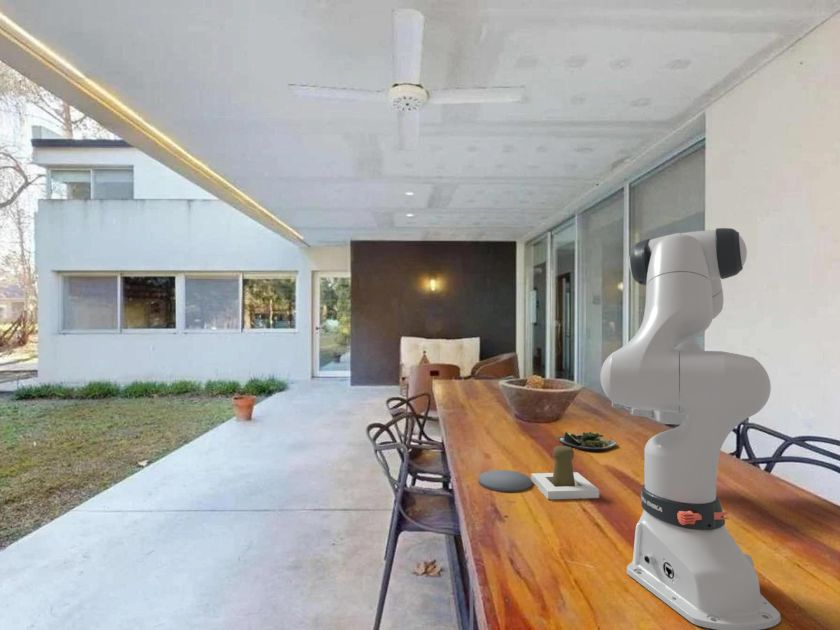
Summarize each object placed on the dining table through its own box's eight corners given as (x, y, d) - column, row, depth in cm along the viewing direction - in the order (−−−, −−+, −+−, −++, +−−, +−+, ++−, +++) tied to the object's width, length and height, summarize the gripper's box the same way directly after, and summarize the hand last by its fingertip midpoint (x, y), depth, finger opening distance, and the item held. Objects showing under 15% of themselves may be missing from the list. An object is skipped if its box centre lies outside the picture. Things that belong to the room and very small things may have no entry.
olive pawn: (577, 494, 117) (577, 450, 117) (552, 492, 119) (552, 449, 119) (574, 485, 123) (574, 444, 123) (550, 484, 124) (550, 443, 125)
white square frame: (599, 497, 115) (599, 489, 115) (547, 499, 114) (547, 491, 114) (577, 479, 128) (577, 472, 128) (531, 480, 127) (531, 473, 127)
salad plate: (583, 435, 177) (583, 423, 177) (627, 445, 162) (627, 432, 162) (550, 443, 166) (550, 430, 166) (595, 455, 151) (594, 441, 151)
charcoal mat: (538, 491, 119) (538, 487, 119) (484, 492, 118) (484, 488, 118) (522, 472, 133) (522, 469, 133) (474, 474, 132) (474, 470, 132)
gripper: (649, 388, 134) (603, 389, 133) (697, 402, 113) (643, 403, 112) (649, 410, 134) (603, 411, 133) (697, 428, 113) (643, 429, 112)
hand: (621, 408), depth 122 cm, fingers open, 8 cm apart
